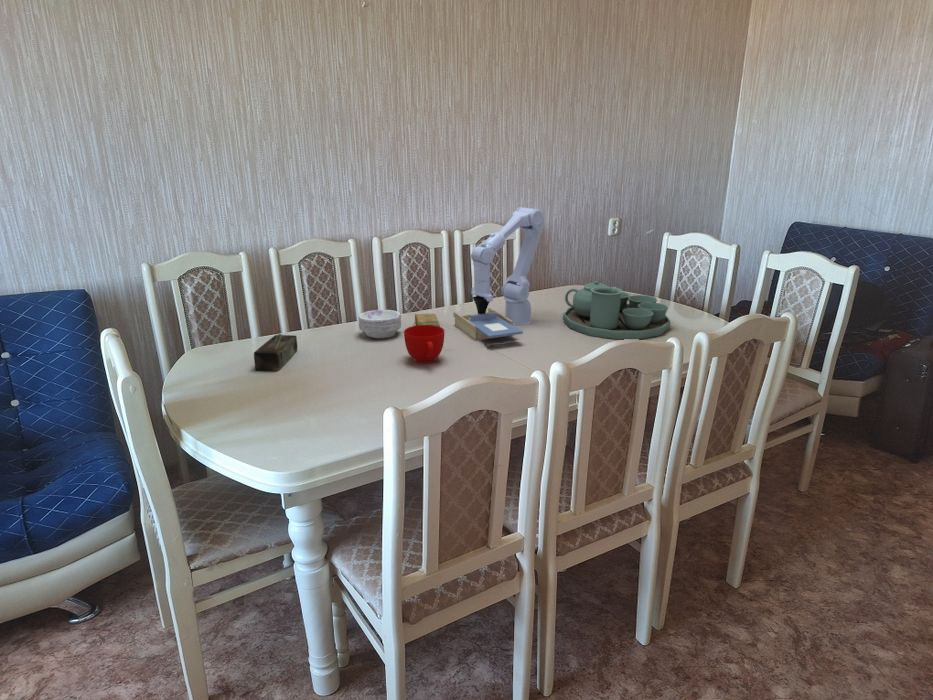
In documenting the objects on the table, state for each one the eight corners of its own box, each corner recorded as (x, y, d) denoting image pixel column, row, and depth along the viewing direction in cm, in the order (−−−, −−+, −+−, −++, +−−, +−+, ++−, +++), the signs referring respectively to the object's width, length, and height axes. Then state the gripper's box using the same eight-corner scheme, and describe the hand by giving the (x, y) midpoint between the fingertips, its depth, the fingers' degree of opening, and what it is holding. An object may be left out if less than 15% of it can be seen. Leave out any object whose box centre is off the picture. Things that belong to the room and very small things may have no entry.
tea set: (683, 340, 214) (689, 296, 209) (571, 340, 215) (574, 295, 209) (651, 310, 252) (655, 271, 246) (556, 310, 252) (558, 271, 246)
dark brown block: (299, 351, 203) (297, 333, 201) (279, 372, 185) (277, 352, 183) (276, 351, 204) (274, 332, 201) (254, 372, 186) (251, 352, 183)
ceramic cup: (411, 373, 184) (410, 342, 181) (401, 355, 199) (400, 326, 196) (452, 369, 187) (451, 338, 184) (439, 351, 203) (439, 323, 199)
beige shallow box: (489, 322, 235) (489, 307, 233) (512, 336, 218) (513, 321, 216) (453, 326, 229) (453, 311, 227) (474, 342, 212) (474, 326, 210)
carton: (436, 323, 234) (436, 312, 233) (440, 336, 220) (440, 325, 218) (414, 324, 233) (414, 313, 232) (418, 337, 218) (417, 325, 217)
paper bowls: (379, 326, 230) (378, 306, 227) (409, 333, 222) (409, 312, 219) (350, 336, 218) (349, 315, 215) (382, 344, 210) (381, 322, 207)
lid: (497, 318, 225) (497, 311, 224) (522, 333, 208) (522, 325, 207) (466, 322, 220) (466, 315, 219) (489, 338, 203) (489, 330, 202)
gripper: (464, 276, 222) (464, 311, 227) (480, 285, 210) (479, 322, 214) (481, 275, 225) (481, 310, 229) (498, 283, 212) (497, 320, 217)
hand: (481, 315), depth 222 cm, fingers closed
